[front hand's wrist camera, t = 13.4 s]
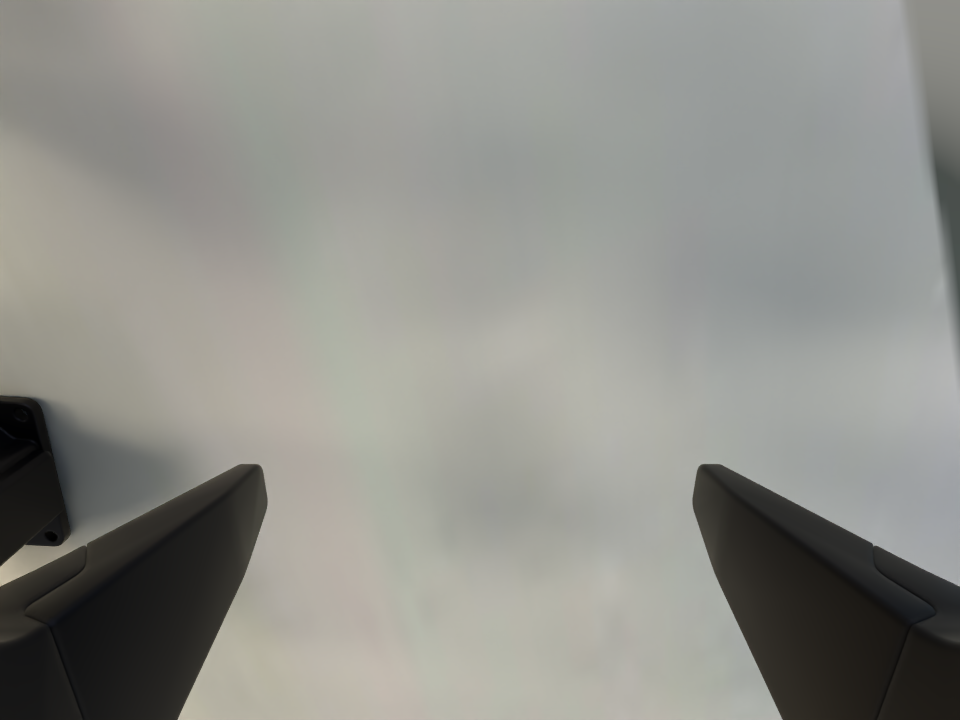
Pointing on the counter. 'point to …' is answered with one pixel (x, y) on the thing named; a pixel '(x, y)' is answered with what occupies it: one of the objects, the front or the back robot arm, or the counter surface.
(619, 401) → the counter surface
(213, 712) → the counter surface
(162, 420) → the counter surface
